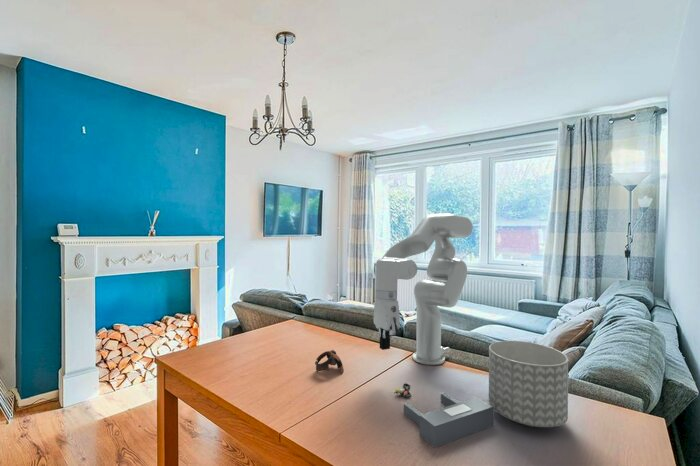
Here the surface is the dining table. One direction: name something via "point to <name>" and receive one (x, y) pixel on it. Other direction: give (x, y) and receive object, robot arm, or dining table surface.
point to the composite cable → (404, 391)
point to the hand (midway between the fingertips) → (384, 348)
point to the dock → (452, 419)
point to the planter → (528, 383)
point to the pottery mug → (329, 361)
